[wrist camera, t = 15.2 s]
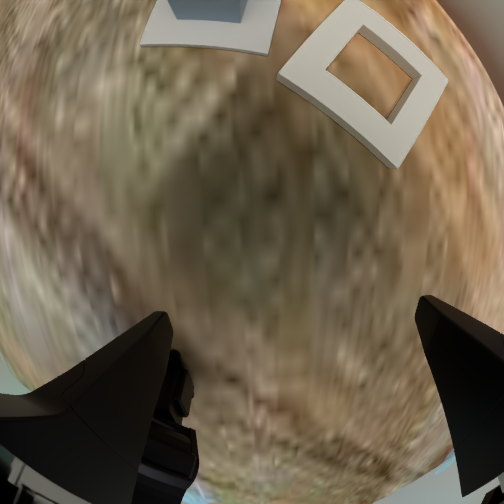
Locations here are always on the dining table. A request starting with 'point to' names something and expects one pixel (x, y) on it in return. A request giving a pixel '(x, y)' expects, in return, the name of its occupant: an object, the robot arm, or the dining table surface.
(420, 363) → the dining table surface
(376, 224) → the dining table surface
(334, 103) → the pocket holder
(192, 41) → the grey mat
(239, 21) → the slate-blue block
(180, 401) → the robot arm
